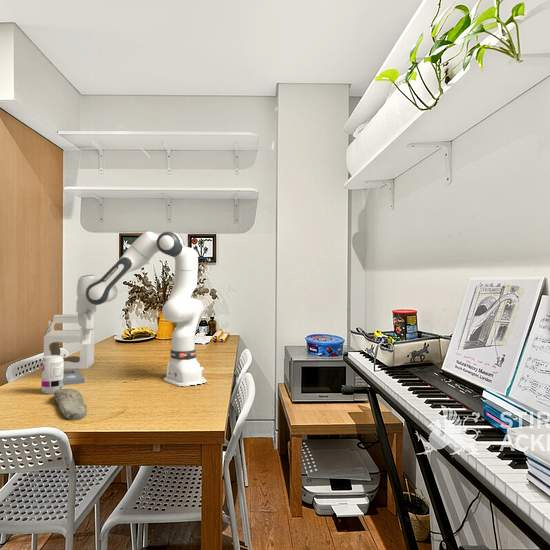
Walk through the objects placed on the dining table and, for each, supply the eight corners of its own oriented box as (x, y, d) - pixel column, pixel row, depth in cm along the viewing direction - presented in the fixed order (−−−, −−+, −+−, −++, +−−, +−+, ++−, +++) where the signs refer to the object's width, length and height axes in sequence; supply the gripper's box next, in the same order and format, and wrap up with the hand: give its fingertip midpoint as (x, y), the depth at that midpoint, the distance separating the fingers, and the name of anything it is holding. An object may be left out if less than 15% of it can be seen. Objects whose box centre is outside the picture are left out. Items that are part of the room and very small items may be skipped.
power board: (84, 382, 196) (84, 377, 196) (60, 385, 191) (60, 380, 191) (76, 372, 215) (76, 368, 215) (54, 375, 209) (54, 370, 209)
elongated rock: (60, 427, 145) (91, 423, 150) (61, 412, 145) (92, 408, 150) (50, 395, 174) (77, 393, 180) (51, 383, 174) (78, 381, 180)
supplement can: (39, 395, 176) (39, 359, 176) (44, 389, 184) (44, 355, 184) (60, 393, 178) (61, 358, 178) (64, 388, 186) (65, 354, 186)
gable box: (42, 369, 221) (43, 315, 221) (52, 364, 234) (52, 313, 234) (87, 368, 224) (88, 315, 224) (94, 363, 237) (95, 313, 237)
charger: (90, 343, 204) (91, 328, 204) (81, 344, 202) (82, 328, 202) (89, 342, 207) (89, 327, 207) (80, 343, 205) (80, 327, 205)
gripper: (97, 310, 197) (97, 340, 198) (89, 306, 215) (88, 333, 215) (83, 310, 194) (82, 340, 194) (76, 306, 211) (75, 334, 211)
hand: (85, 337), depth 205 cm, fingers closed on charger, 4 cm apart
